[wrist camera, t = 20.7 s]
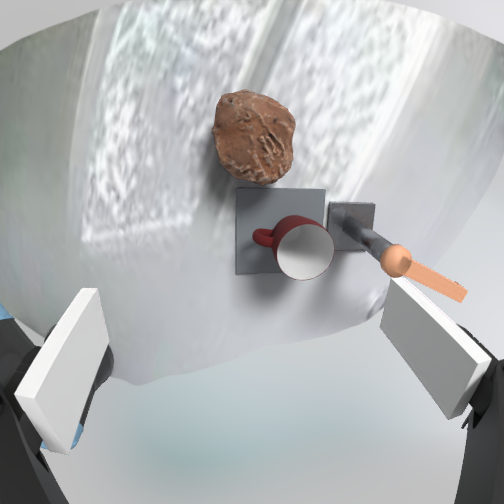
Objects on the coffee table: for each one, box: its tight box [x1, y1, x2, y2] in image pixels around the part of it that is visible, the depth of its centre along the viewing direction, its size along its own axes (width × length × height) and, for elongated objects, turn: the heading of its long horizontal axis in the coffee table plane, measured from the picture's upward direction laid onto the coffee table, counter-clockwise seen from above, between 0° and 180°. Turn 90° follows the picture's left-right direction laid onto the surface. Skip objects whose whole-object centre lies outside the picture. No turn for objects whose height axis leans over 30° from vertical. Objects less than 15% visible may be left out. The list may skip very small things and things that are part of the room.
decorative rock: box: [212, 89, 295, 186], centre depth 41 cm, size 13×11×10 cm
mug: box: [252, 215, 335, 280], centre depth 46 cm, size 11×8×10 cm
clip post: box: [327, 202, 393, 262], centre depth 46 cm, size 8×8×14 cm
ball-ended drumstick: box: [380, 244, 468, 303], centre depth 41 cm, size 4×19×4 cm, turn 66°
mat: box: [236, 188, 326, 274], centre depth 51 cm, size 14×14×1 cm
